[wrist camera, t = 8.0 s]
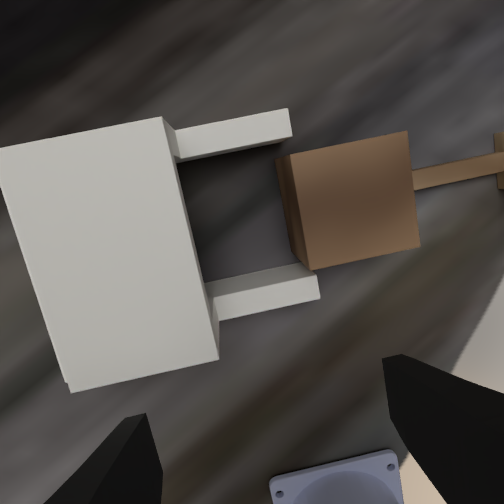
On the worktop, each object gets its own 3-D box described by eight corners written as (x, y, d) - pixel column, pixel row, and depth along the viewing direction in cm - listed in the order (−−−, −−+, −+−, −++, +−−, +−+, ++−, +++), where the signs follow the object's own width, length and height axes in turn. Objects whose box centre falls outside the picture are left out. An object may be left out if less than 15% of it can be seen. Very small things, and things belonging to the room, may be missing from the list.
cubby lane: (306, 282, 22) (347, 330, 15) (107, 325, 21) (54, 396, 14) (277, 118, 20) (308, 87, 13) (59, 161, 19) (-28, 153, 13)
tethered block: (549, 195, 22) (656, 201, 17) (291, 251, 21) (315, 276, 16) (545, 103, 21) (658, 78, 16) (274, 159, 20) (294, 153, 15)
